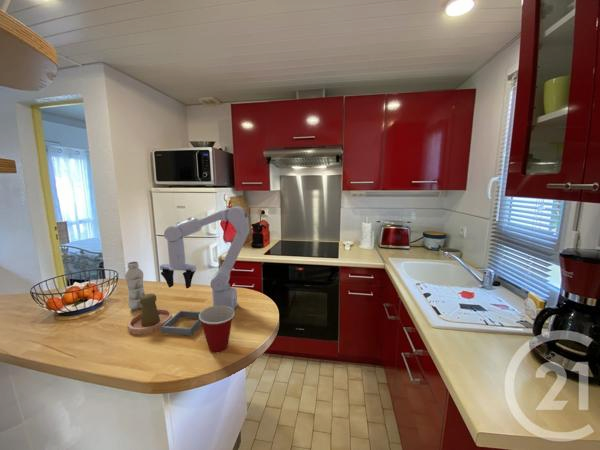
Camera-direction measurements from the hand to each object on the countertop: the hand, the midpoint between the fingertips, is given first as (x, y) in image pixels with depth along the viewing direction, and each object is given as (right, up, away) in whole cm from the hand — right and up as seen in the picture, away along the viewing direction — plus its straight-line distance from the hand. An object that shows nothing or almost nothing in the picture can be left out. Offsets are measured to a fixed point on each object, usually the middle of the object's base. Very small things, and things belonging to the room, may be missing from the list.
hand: (179, 286), depth 98 cm
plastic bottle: (-20, -10, +4) cm, 23 cm away
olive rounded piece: (-7, -12, -8) cm, 16 cm away
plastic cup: (+23, -14, -21) cm, 34 cm away
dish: (-7, -12, -7) cm, 16 cm away
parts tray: (+7, -12, -9) cm, 16 cm away
